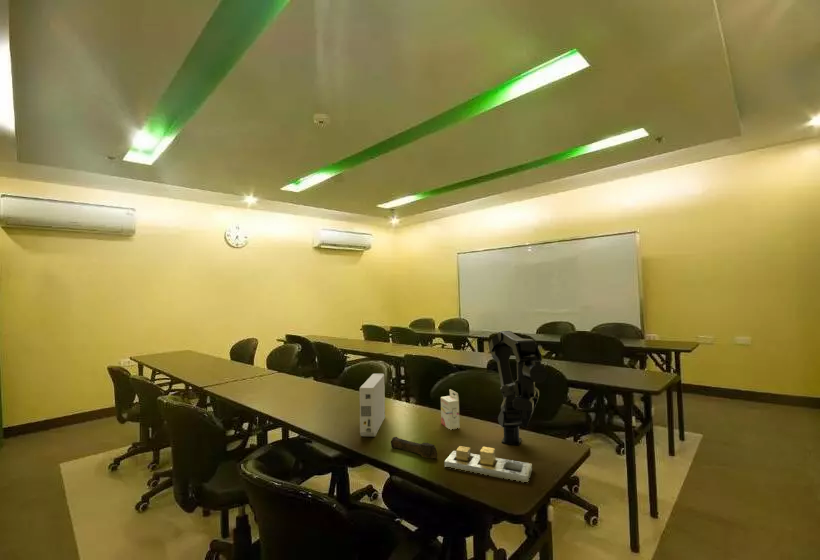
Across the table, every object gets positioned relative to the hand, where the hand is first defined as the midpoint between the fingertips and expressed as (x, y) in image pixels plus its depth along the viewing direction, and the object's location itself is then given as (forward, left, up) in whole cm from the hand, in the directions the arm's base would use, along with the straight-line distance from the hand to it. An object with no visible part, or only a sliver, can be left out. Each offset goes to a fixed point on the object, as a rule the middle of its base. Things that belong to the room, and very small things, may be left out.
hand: (527, 422), depth 125 cm
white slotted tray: (+12, -11, -12) cm, 20 cm away
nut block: (+12, -11, -12) cm, 20 cm away
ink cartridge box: (-20, -35, -12) cm, 42 cm away
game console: (-7, -65, -12) cm, 66 cm away
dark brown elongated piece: (+10, -38, -12) cm, 41 cm away
